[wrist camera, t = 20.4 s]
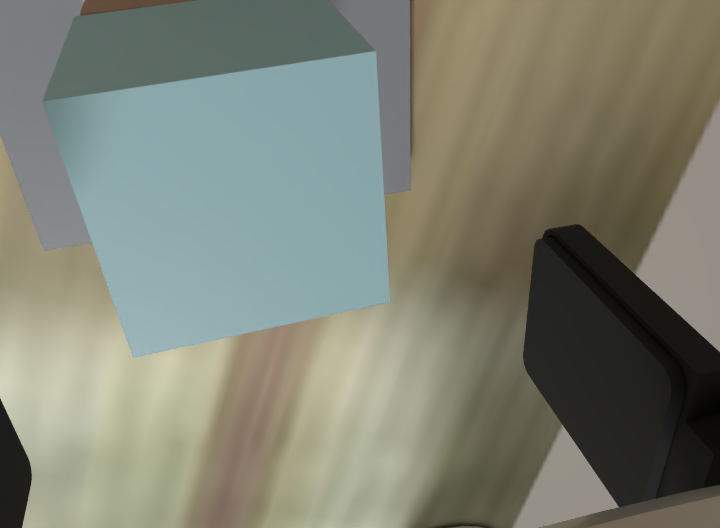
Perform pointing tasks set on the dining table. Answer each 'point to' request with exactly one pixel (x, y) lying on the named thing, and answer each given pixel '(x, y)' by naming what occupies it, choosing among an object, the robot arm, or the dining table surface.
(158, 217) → the teal block
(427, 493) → the dining table surface
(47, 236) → the grey flat slab
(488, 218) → the dining table surface
